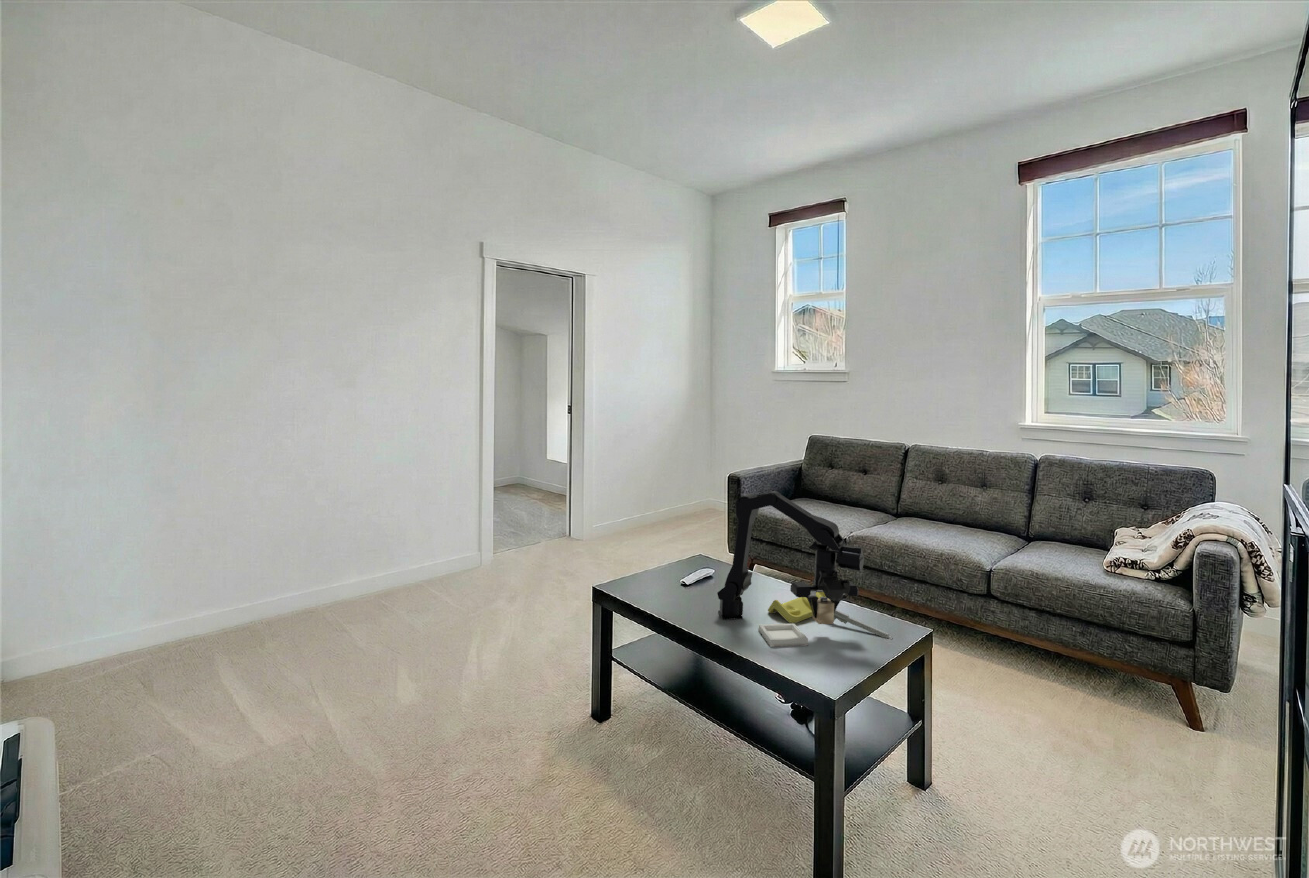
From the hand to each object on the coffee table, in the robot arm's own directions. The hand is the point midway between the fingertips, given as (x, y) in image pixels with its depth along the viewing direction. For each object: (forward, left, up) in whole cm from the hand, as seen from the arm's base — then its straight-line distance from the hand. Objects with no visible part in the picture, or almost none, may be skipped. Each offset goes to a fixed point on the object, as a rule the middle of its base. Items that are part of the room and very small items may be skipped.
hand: (823, 617), depth 175 cm
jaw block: (0, 0, -1) cm, 1 cm away
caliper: (+13, +4, -6) cm, 15 cm away
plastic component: (0, +18, -6) cm, 19 cm away
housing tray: (-12, 0, -6) cm, 13 cm away
